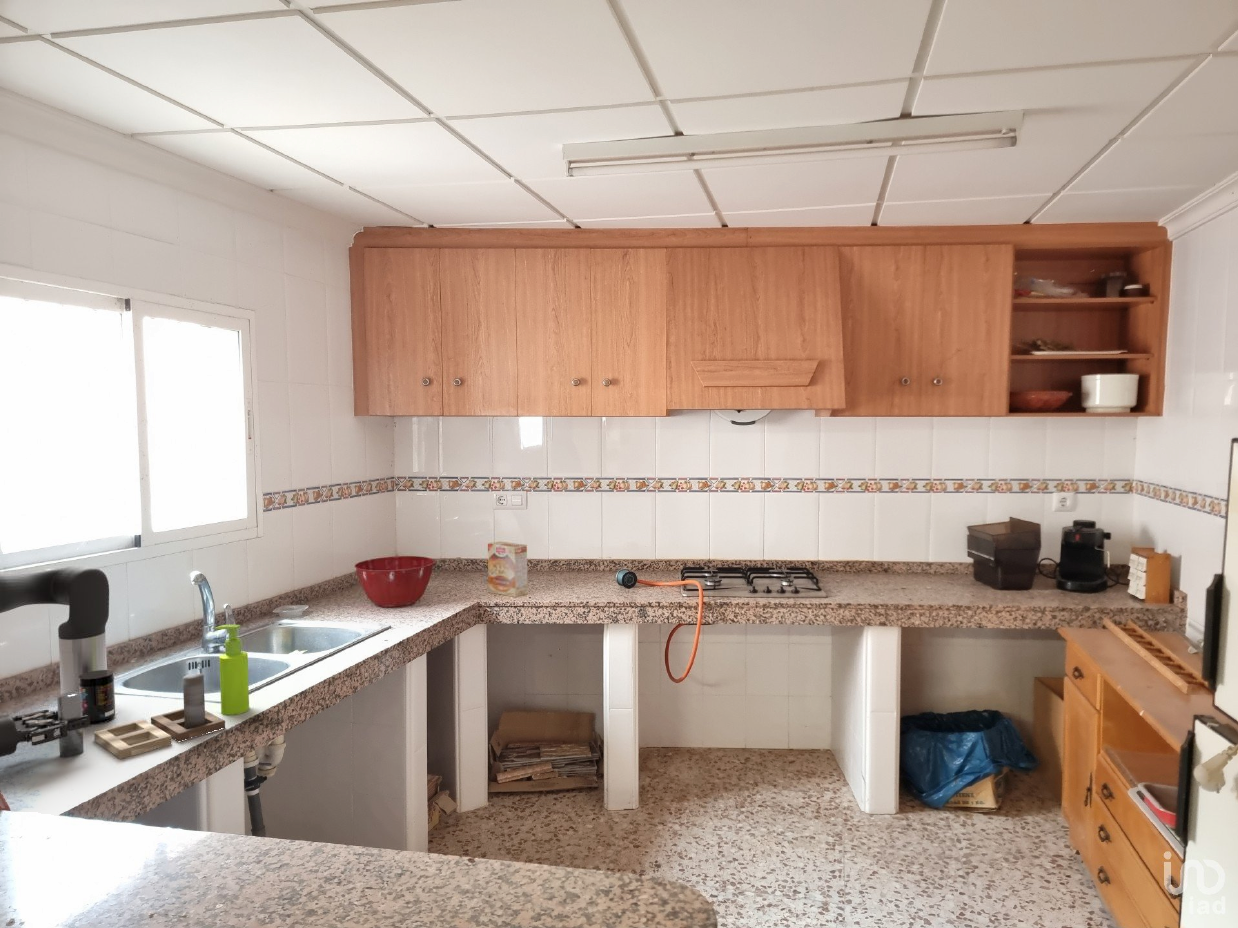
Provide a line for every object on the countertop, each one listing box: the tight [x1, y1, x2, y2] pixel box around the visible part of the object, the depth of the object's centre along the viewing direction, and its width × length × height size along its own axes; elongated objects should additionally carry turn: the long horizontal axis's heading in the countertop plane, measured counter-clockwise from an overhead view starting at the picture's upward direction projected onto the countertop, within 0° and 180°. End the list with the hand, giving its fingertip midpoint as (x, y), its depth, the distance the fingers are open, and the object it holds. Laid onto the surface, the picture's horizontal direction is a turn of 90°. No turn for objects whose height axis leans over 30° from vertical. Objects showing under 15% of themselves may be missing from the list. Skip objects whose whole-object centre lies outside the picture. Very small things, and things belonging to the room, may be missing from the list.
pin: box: [56, 692, 85, 758], centre depth 163 cm, size 4×4×12 cm
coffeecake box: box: [487, 541, 528, 598], centre depth 314 cm, size 15×7×20 cm, turn 53°
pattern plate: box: [150, 673, 226, 742], centre depth 177 cm, size 15×10×12 cm, turn 50°
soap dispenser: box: [213, 624, 250, 716], centre depth 187 cm, size 6×7×20 cm
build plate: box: [93, 718, 172, 760], centre depth 169 cm, size 15×10×2 cm, turn 50°
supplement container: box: [79, 669, 116, 725], centre depth 182 cm, size 7×7×10 cm
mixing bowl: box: [353, 555, 436, 609], centre depth 297 cm, size 28×28×16 cm
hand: (83, 716), depth 165 cm, fingers open, 6 cm apart
